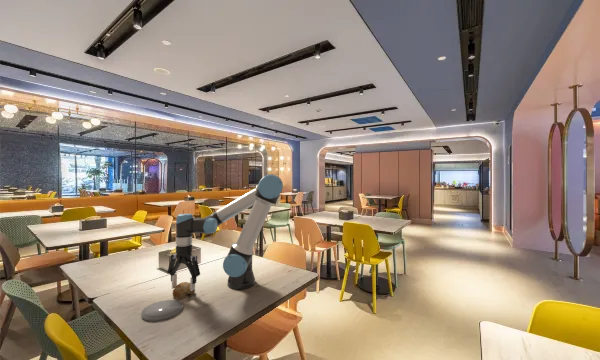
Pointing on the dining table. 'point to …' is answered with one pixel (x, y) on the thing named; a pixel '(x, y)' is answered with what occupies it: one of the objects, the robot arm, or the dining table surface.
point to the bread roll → (182, 291)
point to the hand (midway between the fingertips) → (183, 288)
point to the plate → (162, 310)
